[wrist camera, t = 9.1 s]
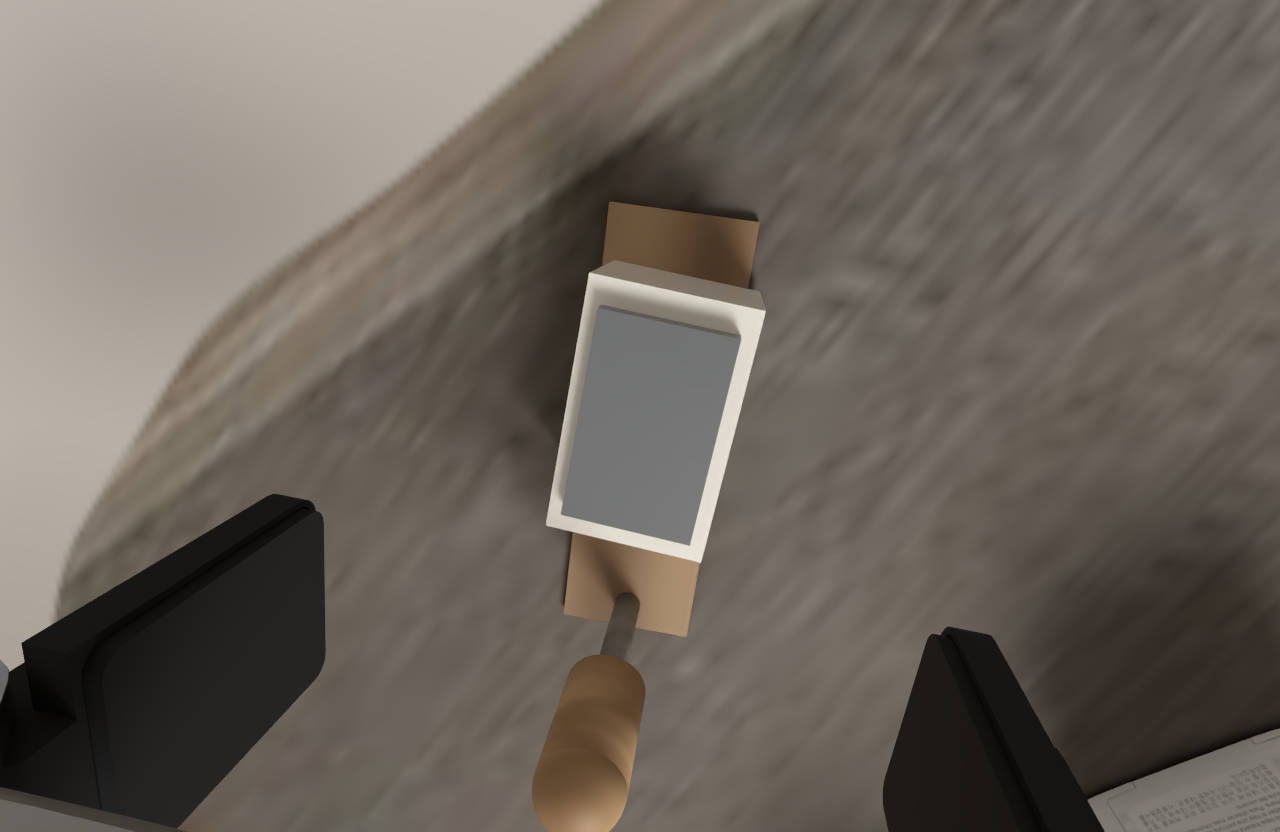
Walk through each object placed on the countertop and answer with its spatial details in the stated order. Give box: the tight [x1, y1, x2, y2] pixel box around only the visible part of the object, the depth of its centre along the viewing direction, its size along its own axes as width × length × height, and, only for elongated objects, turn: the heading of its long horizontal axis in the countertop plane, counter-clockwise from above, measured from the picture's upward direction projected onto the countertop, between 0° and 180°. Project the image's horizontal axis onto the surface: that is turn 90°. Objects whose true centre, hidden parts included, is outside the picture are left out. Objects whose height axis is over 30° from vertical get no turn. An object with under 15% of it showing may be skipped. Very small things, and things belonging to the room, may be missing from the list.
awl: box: [532, 593, 645, 832], centre depth 22 cm, size 3×3×10 cm
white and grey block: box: [546, 260, 766, 563], centre depth 22 cm, size 5×8×5 cm, turn 169°
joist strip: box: [564, 201, 760, 637], centre depth 25 cm, size 5×16×1 cm, turn 173°
